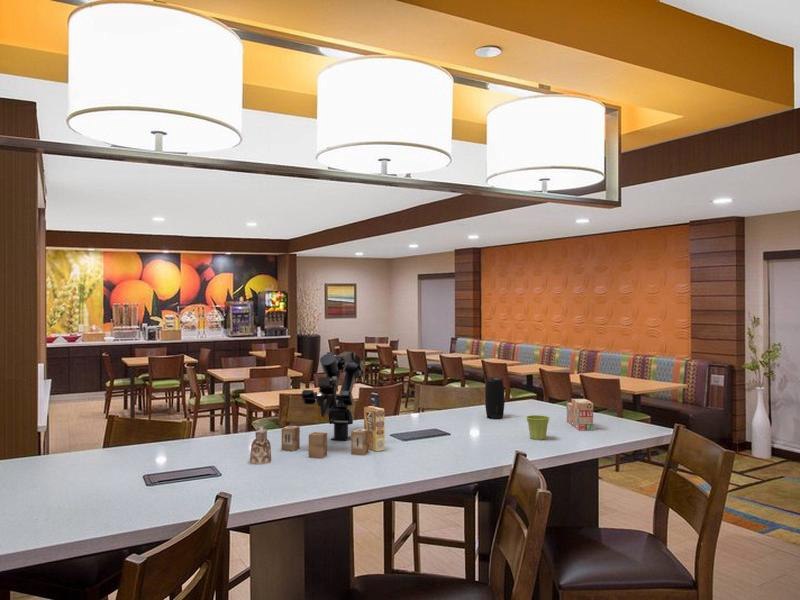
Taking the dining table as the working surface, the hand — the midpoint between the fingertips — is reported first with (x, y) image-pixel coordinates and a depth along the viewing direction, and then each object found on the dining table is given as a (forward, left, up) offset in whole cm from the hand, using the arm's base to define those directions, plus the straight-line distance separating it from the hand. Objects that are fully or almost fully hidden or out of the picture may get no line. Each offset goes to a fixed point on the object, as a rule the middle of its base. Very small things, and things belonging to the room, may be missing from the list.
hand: (322, 416), depth 216 cm
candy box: (-11, +16, -13) cm, 24 cm away
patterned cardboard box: (-77, +93, -14) cm, 122 cm away
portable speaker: (-90, +54, -13) cm, 106 cm away
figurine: (+17, -16, -13) cm, 27 cm away
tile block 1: (-3, -14, -13) cm, 19 cm away
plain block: (+5, 0, -13) cm, 14 cm away
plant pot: (-45, +75, -13) cm, 89 cm away
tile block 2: (-3, +13, -13) cm, 19 cm away
